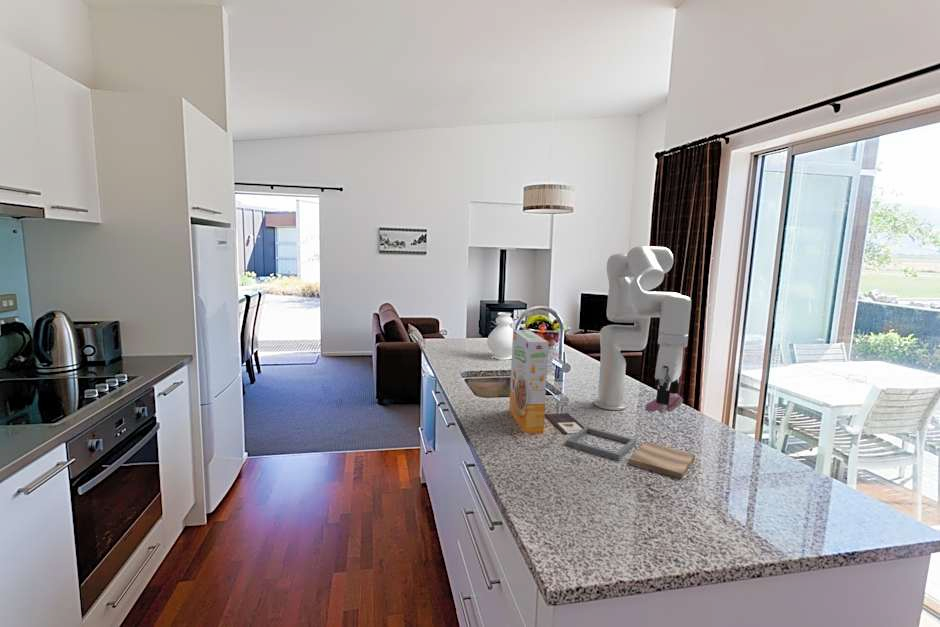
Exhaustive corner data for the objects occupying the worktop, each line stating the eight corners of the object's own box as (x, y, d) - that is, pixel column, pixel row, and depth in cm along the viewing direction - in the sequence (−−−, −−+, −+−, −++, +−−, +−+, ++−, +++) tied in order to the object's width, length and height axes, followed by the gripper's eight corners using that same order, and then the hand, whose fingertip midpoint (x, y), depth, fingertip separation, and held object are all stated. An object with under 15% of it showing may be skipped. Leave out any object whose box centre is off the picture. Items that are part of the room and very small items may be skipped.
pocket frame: (585, 430, 157) (586, 426, 156) (635, 444, 147) (636, 439, 147) (565, 444, 144) (566, 440, 144) (618, 460, 135) (619, 455, 134)
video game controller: (653, 420, 132) (665, 402, 128) (642, 408, 135) (653, 390, 131) (677, 415, 136) (689, 398, 133) (666, 404, 139) (677, 387, 136)
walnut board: (645, 446, 146) (645, 441, 145) (694, 459, 137) (695, 454, 137) (628, 463, 133) (628, 458, 133) (681, 479, 125) (682, 473, 124)
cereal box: (509, 410, 174) (513, 330, 170) (525, 410, 175) (529, 330, 171) (524, 433, 152) (529, 342, 148) (543, 433, 153) (548, 342, 149)
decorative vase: (502, 353, 275) (504, 310, 271) (525, 359, 261) (527, 314, 258) (479, 356, 263) (481, 312, 260) (502, 363, 250) (504, 316, 246)
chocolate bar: (567, 413, 172) (589, 431, 154) (567, 415, 172) (589, 434, 155) (544, 414, 170) (563, 433, 153) (544, 416, 170) (563, 435, 153)
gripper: (666, 334, 140) (661, 390, 142) (649, 341, 126) (644, 404, 128) (694, 337, 135) (688, 395, 138) (679, 345, 122) (673, 410, 124)
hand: (667, 399), depth 133 cm, fingers closed on video game controller, 9 cm apart
